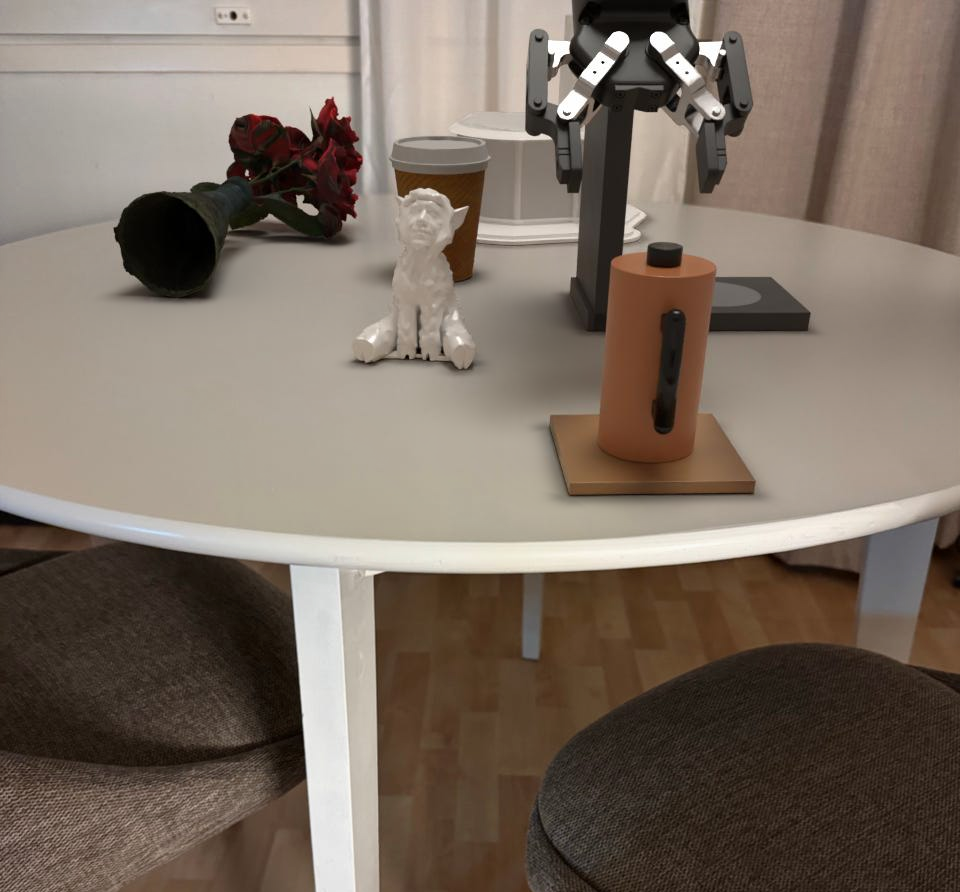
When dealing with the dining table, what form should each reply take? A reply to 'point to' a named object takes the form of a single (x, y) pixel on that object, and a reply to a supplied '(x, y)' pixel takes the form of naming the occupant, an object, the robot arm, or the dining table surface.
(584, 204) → the coffee maker
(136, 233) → the red rose bouquet
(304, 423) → the dining table surface
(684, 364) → the thermos flask
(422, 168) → the disposable coffee cup
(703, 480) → the trivet
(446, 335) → the white creature statuette
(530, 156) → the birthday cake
